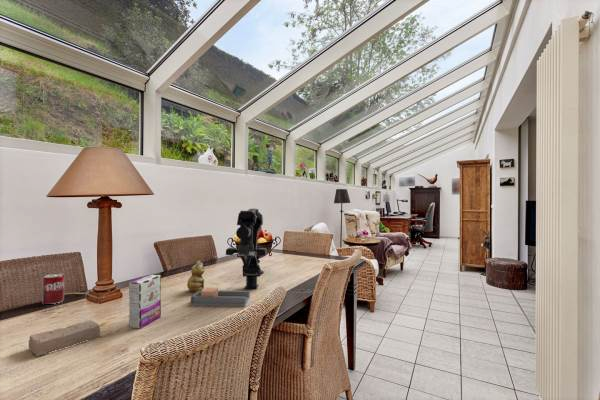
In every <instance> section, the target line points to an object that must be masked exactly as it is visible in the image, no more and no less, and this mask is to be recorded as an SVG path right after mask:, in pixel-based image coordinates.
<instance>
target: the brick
mask: <svg viewBox="0 0 600 400" xmlns="http://www.w3.org/2000/svg"><path fill="white" fill-rule="evenodd" d="M99 337H101V328H100V325H99V324H98V323H97V322H96V321H94V320H92V319H87V320H85V321H83V322H77V323H75V324H71V325H67V326H66V327H62V328H61V327H59V328H56V329H53V330H48V331H47V330H45V331H43V332H39V333H35V334H31V335H30V336H29V339H28V348H29V351H30V352H31V351H32V352H31V353H32V354H33V353H34V354H33V355H34V356H36V355H42V356H44V355H43V354H45V353H49V352H52V351H55V350H58V351H60V350H59V349H62V348H65V347H68V346H71V345H74V344H76V345H78V344H77V343H79V344H81V343H80V342H82V343H84V342H83V341H85V342H87V341H86V340H88V341H90V339H91V340H93V339H96V338H99ZM74 346H75V345H74ZM71 347H72V346H71ZM68 348H69V347H68ZM65 349H66V348H65ZM62 350H63V349H62ZM52 353H53V352H52Z"/></svg>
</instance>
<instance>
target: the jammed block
mask: <svg viewBox="0 0 600 400" xmlns="http://www.w3.org/2000/svg"><path fill="white" fill-rule="evenodd" d="M218 291H219V287H211V286H210V287H205V286H204V289H202V291H201V296H218Z"/></svg>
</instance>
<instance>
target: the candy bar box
mask: <svg viewBox="0 0 600 400" xmlns="http://www.w3.org/2000/svg"><path fill="white" fill-rule="evenodd" d="M161 280H162V278H161V275H159V274H149V275H146V276H144V277H141V278H138V279H136V280H132V281H130V282H129V283H128V285H129V286H128V288H129V290H128V291H129V292H128V294H129V295H128V296H129V298H128V299H129V301H128V302H129V305H128V306H129V308H128V309H129V310H128V311H129V312H128V314H129V319H128V320H129V326H128V327H129V329H130V328H131V329H142V328H144V327H146V326H147V325H149V324H151V323H153V322H154V321H156V320H158V319H159V318H161V317H162V314H161V313H162V307H161V306H162V298H161V297H162V294H161V293H162V291H161V290H162V287H161V286H162V285H161V284H162V281H161Z"/></svg>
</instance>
